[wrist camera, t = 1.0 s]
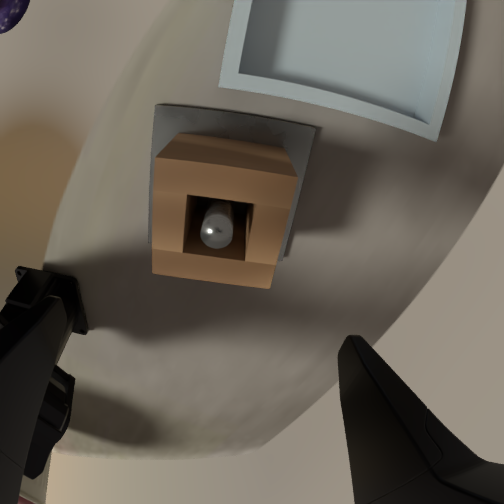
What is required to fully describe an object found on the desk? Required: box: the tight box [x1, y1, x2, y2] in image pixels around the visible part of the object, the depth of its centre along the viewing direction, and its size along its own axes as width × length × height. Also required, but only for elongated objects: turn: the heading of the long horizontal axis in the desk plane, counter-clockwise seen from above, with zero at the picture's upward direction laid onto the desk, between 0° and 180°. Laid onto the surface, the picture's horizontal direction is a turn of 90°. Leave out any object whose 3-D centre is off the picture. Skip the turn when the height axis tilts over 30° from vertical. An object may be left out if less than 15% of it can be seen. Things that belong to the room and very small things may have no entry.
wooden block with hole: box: [152, 133, 298, 289], centre depth 17 cm, size 8×6×5 cm
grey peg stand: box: [148, 104, 316, 261], centre depth 16 cm, size 9×9×6 cm
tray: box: [218, 0, 467, 142], centre depth 12 cm, size 12×12×2 cm
